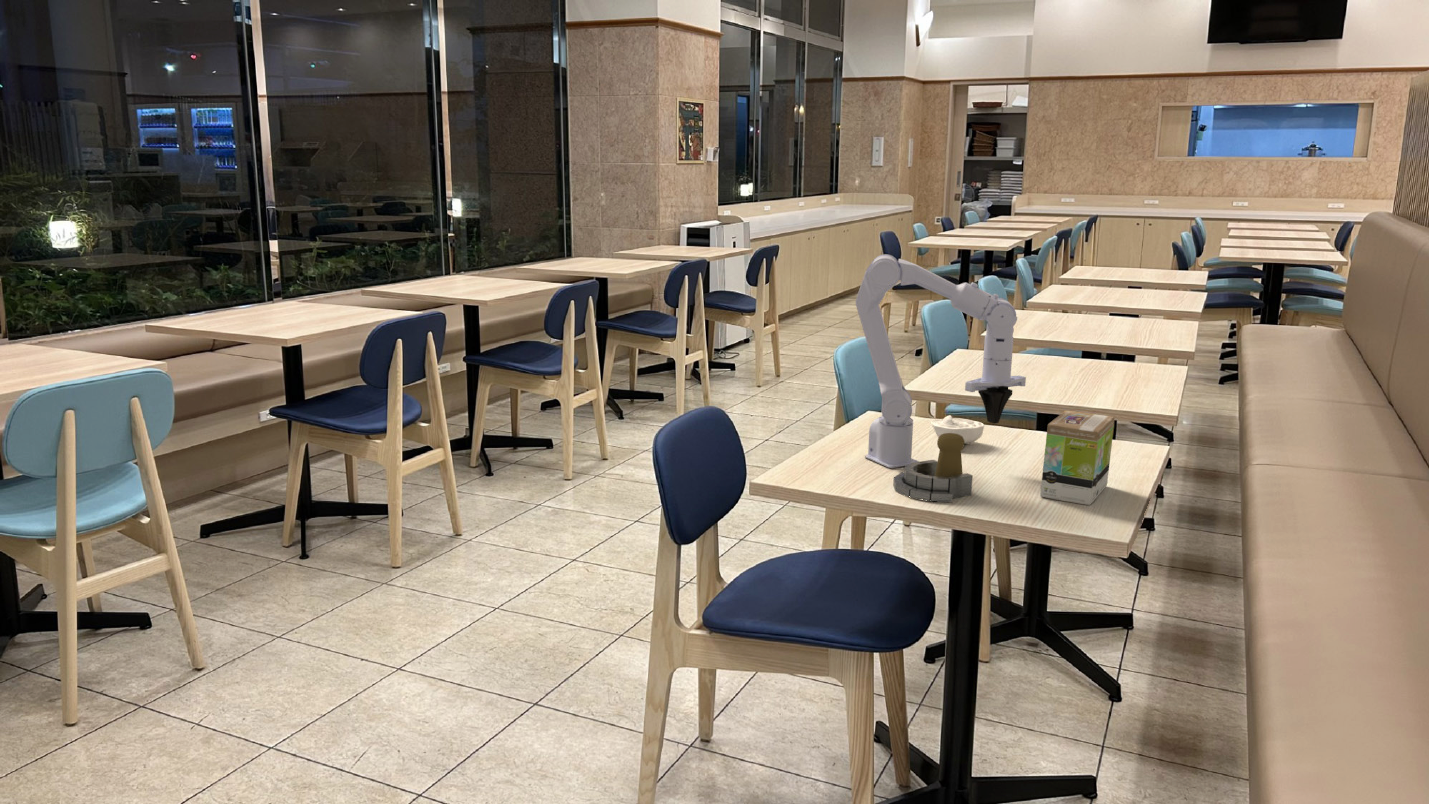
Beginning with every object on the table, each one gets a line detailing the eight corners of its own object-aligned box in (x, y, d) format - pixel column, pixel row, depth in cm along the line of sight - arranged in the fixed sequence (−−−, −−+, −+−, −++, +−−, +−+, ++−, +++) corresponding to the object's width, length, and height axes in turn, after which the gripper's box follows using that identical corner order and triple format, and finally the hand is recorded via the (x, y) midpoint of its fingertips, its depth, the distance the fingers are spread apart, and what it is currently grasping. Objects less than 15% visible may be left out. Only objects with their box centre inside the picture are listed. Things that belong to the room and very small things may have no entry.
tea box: (1092, 506, 197) (1099, 430, 194) (1038, 497, 202) (1044, 423, 199) (1108, 486, 210) (1115, 414, 206) (1057, 478, 215) (1063, 408, 212)
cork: (964, 493, 204) (968, 438, 202) (933, 491, 205) (936, 437, 203) (962, 484, 210) (966, 431, 208) (931, 482, 211) (935, 429, 209)
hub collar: (878, 483, 210) (879, 464, 209) (926, 475, 215) (927, 457, 214) (927, 506, 196) (929, 486, 195) (977, 498, 202) (979, 478, 201)
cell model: (989, 450, 235) (991, 420, 234) (936, 450, 235) (937, 421, 233) (976, 438, 245) (978, 410, 244) (925, 438, 245) (927, 410, 243)
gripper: (983, 364, 210) (978, 430, 213) (1038, 359, 216) (1032, 422, 219) (960, 358, 216) (956, 422, 219) (1014, 353, 222) (1009, 415, 225)
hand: (993, 422), depth 219 cm, fingers closed
